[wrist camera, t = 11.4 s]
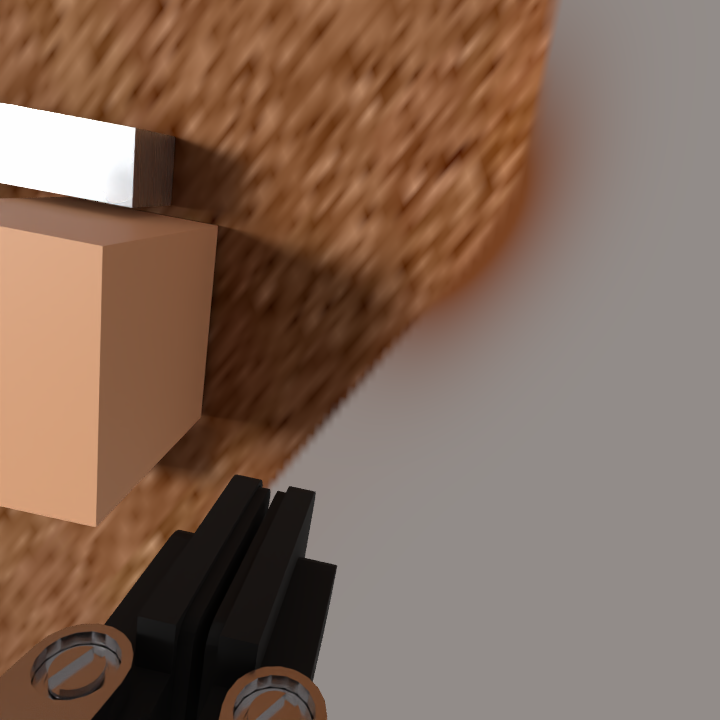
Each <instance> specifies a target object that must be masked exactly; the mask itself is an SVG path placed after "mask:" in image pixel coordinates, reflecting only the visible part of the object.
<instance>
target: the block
mask: <svg viewBox="0 0 720 720" xmlns="http://www.w3.org/2000/svg"><path fill="white" fill-rule="evenodd" d="M217 234H218V226H217V225H212V224H207V223H201V222H196V221H191V220H186V219H181V218H175V217H170V216H165V215H160V214H155V213H149V212H144V211H139V210H134V209H129V208H123V207H118V206H113V205H108V204H103V203H97V202H92V201H87V200H82V199H77V198H71V197H50V198H0V506H2V507H7V508H11V509H16V510H20V511H25V512H29V513H34V514H38V515H43V516H47V517H52V518H57V519H61V520H66V521H70V522H75V523H79V524H84V525H88V526H93V527H97V525H98V524H99V523H100V522H101V521H102V520H103V519H104V518H105V517H106V516H107V515H108V514H109V513H110V512H111V511H112V510H113V509H114V508H115V507H116V506H117V505H118V504H119V503H120V501H121V500H122V499H123V498H124V497H125V496H126V495H127V494H128V493H129V492H130V491H131V490H132V489H133V488H134V487H135V486H136V485H137V484H138V483H139V482H140V481H141V480H142V478H143V477H144V476H145V475H146V474H147V473H148V472H149V471H150V470H151V469H152V468H153V467H154V466H155V465H156V464H157V463H158V462H159V461H160V460H161V459H162V458H163V457H164V455H165V454H166V453H167V452H168V451H169V450H170V449H171V448H172V447H173V446H174V445H175V444H176V443H177V442H178V441H179V440H180V439H181V438H182V437H183V436H184V435H185V434H186V432H187V431H188V430H189V429H190V428H191V427H192V426H193V425H194V424H195V423H196V422H197V421H198V420H199V419H200V418H201V411H202V400H203V389H204V378H205V367H206V356H207V345H208V334H209V323H210V312H211V300H212V289H213V278H214V267H215V256H216V245H217Z"/></svg>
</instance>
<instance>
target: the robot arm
mask: <svg viewBox="0 0 720 720" xmlns="http://www.w3.org/2000/svg"><path fill="white" fill-rule="evenodd" d="M262 486H263V484H262V480H259V479H255V478H250V477H246V476H241V475H234V477H233V478H232V479H231V481H230V482H229V484H228V485H227V487H226V488H225V490H224V491H223V492H222V494H221V495H220V497H219V498H218V500H217V501H216V503H215V504H214V506H213V507H212V508H211V510H210V511H209V513H208V514H207V516H206V517H205V519H204V520H203V522H202V523H201V525H200V526H199V527H198V529H197V530H196V532H195V533H191V532H187V531H182V530H177V531H175V532H174V533H173V534H172V535H171V537H170V538H169V539H168V541H167V542H166V543H165V545H164V546H163V547H162V549H161V550H160V551H159V553H158V554H157V555H156V557H155V558H154V559H153V561H152V562H151V563H150V565H149V566H148V567H147V569H146V570H145V571H144V573H143V574H142V575H141V577H140V578H139V579H138V581H137V582H136V583H135V585H134V586H133V587H132V589H131V590H130V591H129V593H128V594H127V595H126V597H125V598H124V599H123V600H122V602H121V603H120V604H119V606H118V607H117V608H116V610H115V611H114V612H113V614H112V615H111V616H110V618H109V619H108V620H107V622H106V623H105V624H104V625H102V624H80V625H76V626H72V627H68V628H64V629H62V630H60V631H58V632H55V633H53V634H51V635H49V636H47V637H46V638H45V639H43V640H42V641H41V642H39V643H38V644H36V645H35V646H34V647H33V648H32V649H31V650H29V651H28V652H27V653H26V654H25V655H24V656H23V657H22V658H21V659H20V660H18V661H17V662H16V663H15V664H14V665H13V666H12V667H11V668H10V669H8V670H7V671H6V672H5V673H4V674H3V675H2V676H1V677H0V720H327V713H326V706H325V700H324V698H323V696H322V694H321V693H320V691H319V689H318V687H317V686H316V685H315V684H314V683H313V678H314V673H315V669H316V664H317V660H318V656H319V651H320V647H321V642H322V638H323V633H324V628H325V624H326V619H327V614H328V609H329V605H330V599H331V594H332V590H333V584H334V579H335V574H336V569H337V565H333V564H329V563H325V562H320V561H316V560H311V559H307V558H305V552H306V547H307V541H308V535H309V530H310V524H311V518H312V513H313V507H314V501H315V494H316V493H315V492H314V491H310V490H305V489H301V488H296V487H292V486H289V488H288V490H287V492H286V493H284V492H280V491H277V493H276V495H275V497H274V499H273V501H272V503H271V505H270V507H269V509H268V506H269V499H270V489H267V488H262Z"/></svg>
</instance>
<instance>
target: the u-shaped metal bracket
mask: <svg viewBox="0 0 720 720" xmlns="http://www.w3.org/2000/svg"><path fill="white" fill-rule="evenodd" d="M174 151H175V137H174V136H169V135H165V134H160V133H156V132H151V131H146V130H142V129H137V128H132V127H127V126H122V125H116V124H111V123H105V122H100V121H95V120H89V119H84V118H78V117H73V116H68V115H62V114H57V113H51V112H46V111H41V110H35V109H30V108H24V107H19V106H14V105H8V104H3V103H0V182H1V183H6V184H11V185H16V186H21V187H27V188H32V189H37V190H42V191H47V192H53V193H58V194H63V195H68V196H73V197H79V198H84V199H89V200H94V201H99V202H105V203H110V204H115V205H120V206H125V207H131V208H136V207H153V206H169V205H171V199H172V183H173V167H174Z"/></svg>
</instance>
